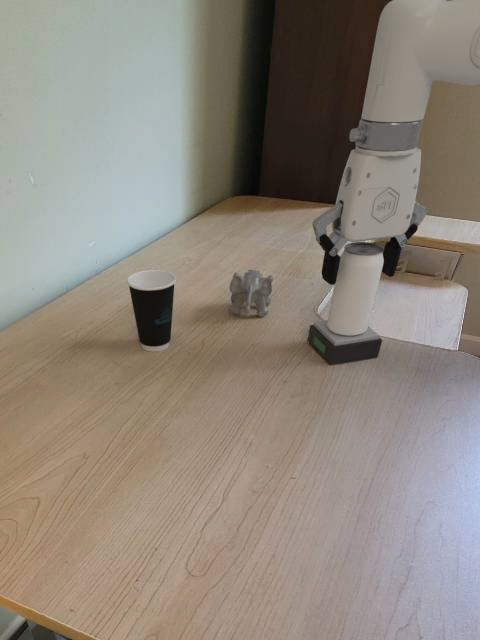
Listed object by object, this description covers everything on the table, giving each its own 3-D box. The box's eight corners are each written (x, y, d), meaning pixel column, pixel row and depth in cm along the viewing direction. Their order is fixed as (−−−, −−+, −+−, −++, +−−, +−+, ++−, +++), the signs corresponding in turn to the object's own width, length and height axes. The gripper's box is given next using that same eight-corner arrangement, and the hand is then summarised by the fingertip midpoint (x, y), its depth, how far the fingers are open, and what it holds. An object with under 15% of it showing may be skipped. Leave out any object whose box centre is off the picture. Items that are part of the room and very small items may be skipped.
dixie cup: (138, 333, 93) (133, 268, 85) (181, 336, 92) (180, 270, 84) (127, 354, 88) (120, 286, 80) (172, 357, 86) (170, 289, 78)
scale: (352, 335, 90) (357, 314, 88) (377, 357, 85) (383, 336, 82) (306, 342, 89) (309, 321, 86) (329, 365, 83) (333, 344, 81)
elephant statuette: (266, 301, 101) (270, 259, 96) (284, 327, 93) (290, 283, 88) (220, 305, 101) (221, 263, 95) (234, 332, 92) (236, 287, 87)
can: (323, 334, 83) (338, 253, 74) (329, 318, 87) (344, 239, 78) (364, 339, 81) (385, 257, 73) (368, 322, 85) (388, 242, 77)
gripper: (340, 147, 62) (316, 294, 75) (465, 136, 65) (422, 279, 77) (313, 137, 67) (294, 276, 80) (430, 127, 70) (395, 262, 82)
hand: (357, 277), depth 78 cm, fingers open, 9 cm apart
